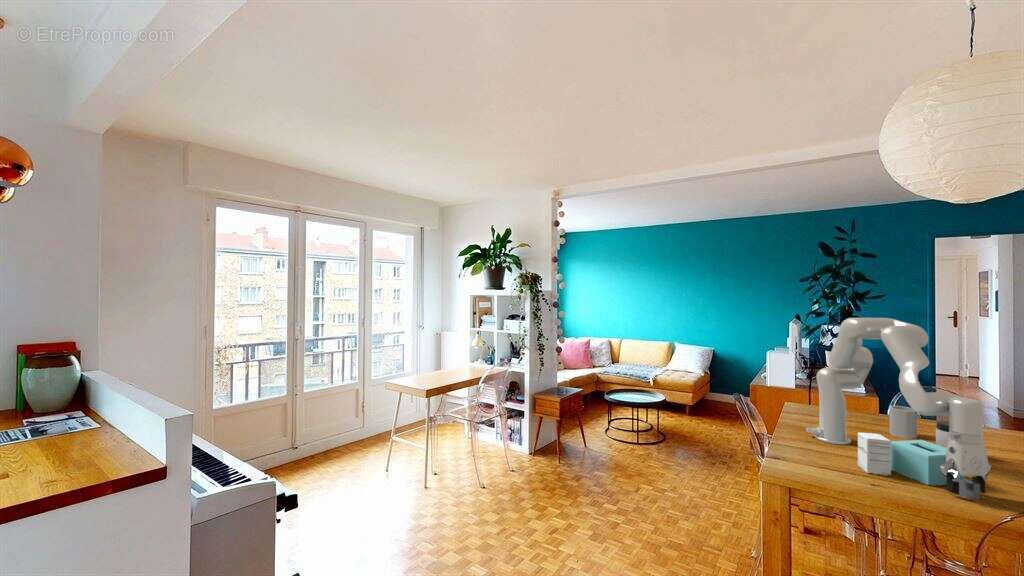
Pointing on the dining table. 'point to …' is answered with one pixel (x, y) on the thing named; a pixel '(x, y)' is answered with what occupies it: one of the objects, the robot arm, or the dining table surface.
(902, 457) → the coin box
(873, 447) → the supplement box
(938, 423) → the jar
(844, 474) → the dining table surface
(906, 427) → the cup
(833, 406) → the robot arm
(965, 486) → the grey metal block
